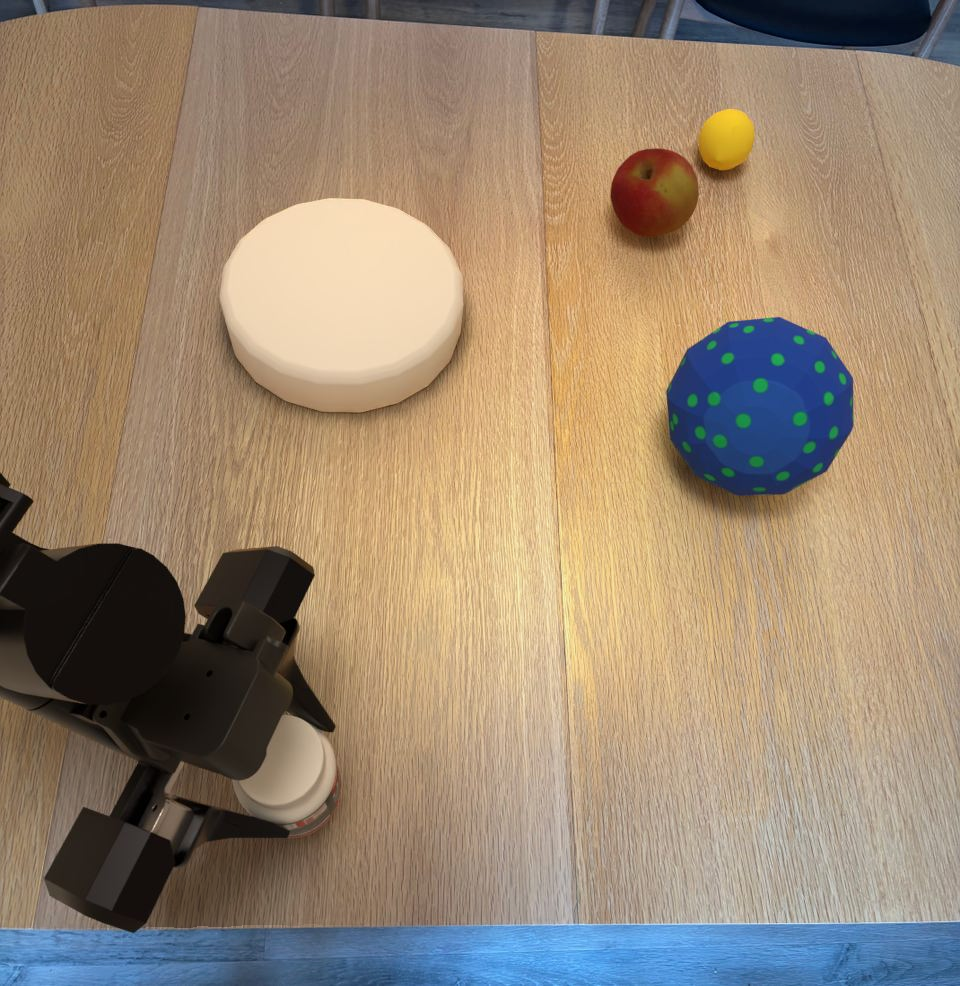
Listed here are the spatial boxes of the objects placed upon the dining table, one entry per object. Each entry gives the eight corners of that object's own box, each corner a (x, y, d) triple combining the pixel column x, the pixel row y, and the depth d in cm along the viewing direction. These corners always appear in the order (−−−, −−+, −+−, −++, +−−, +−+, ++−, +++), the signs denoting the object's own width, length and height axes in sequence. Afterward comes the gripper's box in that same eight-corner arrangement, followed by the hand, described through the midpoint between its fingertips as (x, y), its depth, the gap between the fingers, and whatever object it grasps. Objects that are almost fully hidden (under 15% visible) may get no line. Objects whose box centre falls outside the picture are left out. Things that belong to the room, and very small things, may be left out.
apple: (610, 188, 85) (630, 119, 78) (690, 209, 84) (717, 142, 77) (594, 242, 81) (613, 174, 74) (677, 264, 81) (705, 199, 73)
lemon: (735, 191, 86) (755, 147, 81) (684, 174, 86) (701, 129, 82) (749, 147, 89) (769, 102, 84) (699, 131, 90) (716, 86, 85)
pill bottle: (358, 804, 54) (354, 776, 45) (277, 858, 52) (255, 841, 43) (313, 726, 56) (300, 685, 47) (232, 776, 54) (203, 743, 45)
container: (198, 393, 69) (186, 358, 65) (258, 216, 79) (251, 175, 75) (444, 430, 70) (447, 397, 66) (474, 249, 79) (478, 210, 75)
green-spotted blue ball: (870, 315, 69) (890, 350, 56) (824, 477, 74) (833, 545, 61) (693, 288, 73) (673, 315, 59) (662, 445, 78) (637, 501, 65)
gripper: (9, 908, 29) (328, 1010, 38) (257, 466, 38) (469, 633, 47) (-87, 847, 37) (199, 944, 46) (139, 489, 45) (341, 629, 54)
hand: (308, 780), depth 48 cm, fingers closed on pill bottle, 6 cm apart
